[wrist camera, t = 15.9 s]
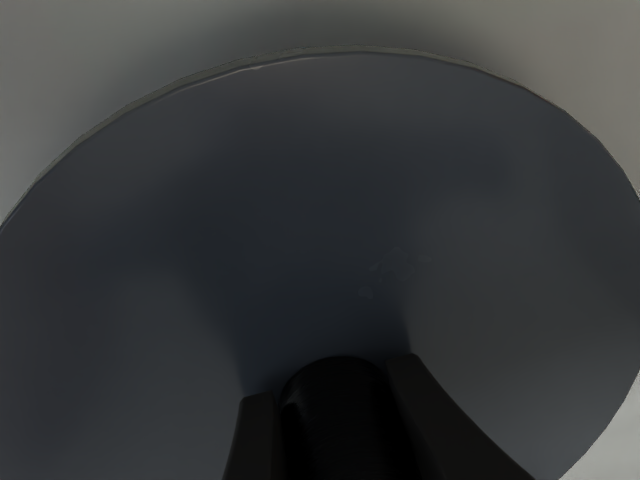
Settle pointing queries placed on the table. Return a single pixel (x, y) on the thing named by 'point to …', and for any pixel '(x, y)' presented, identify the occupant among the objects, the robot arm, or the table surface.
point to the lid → (317, 272)
